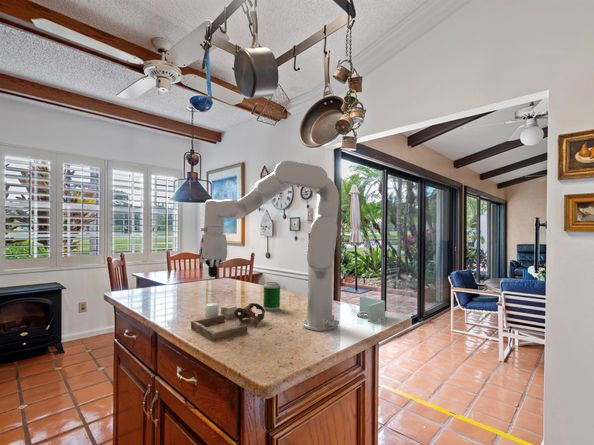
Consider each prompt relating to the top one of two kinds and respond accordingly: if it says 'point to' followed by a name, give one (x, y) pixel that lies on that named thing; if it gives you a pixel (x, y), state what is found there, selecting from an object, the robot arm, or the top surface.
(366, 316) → the l-shaped corner panel
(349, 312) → the top surface
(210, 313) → the pale green capsule
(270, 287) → the soda can
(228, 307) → the birch block
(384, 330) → the top surface
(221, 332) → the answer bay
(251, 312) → the pottery mug
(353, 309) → the top surface
